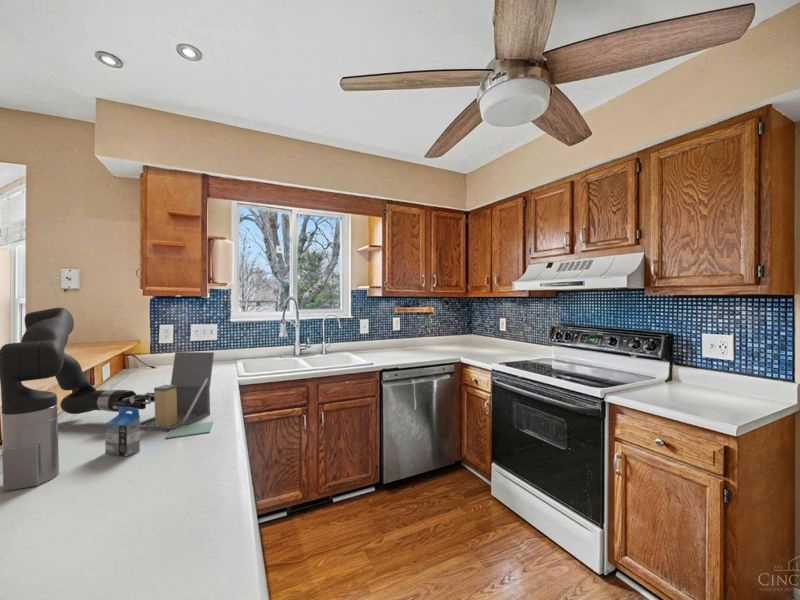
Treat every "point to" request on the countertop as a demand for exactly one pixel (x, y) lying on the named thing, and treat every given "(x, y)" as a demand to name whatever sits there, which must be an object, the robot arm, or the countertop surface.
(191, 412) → the case
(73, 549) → the countertop surface
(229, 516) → the countertop surface
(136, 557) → the countertop surface
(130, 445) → the label tape box
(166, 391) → the block
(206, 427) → the mat
